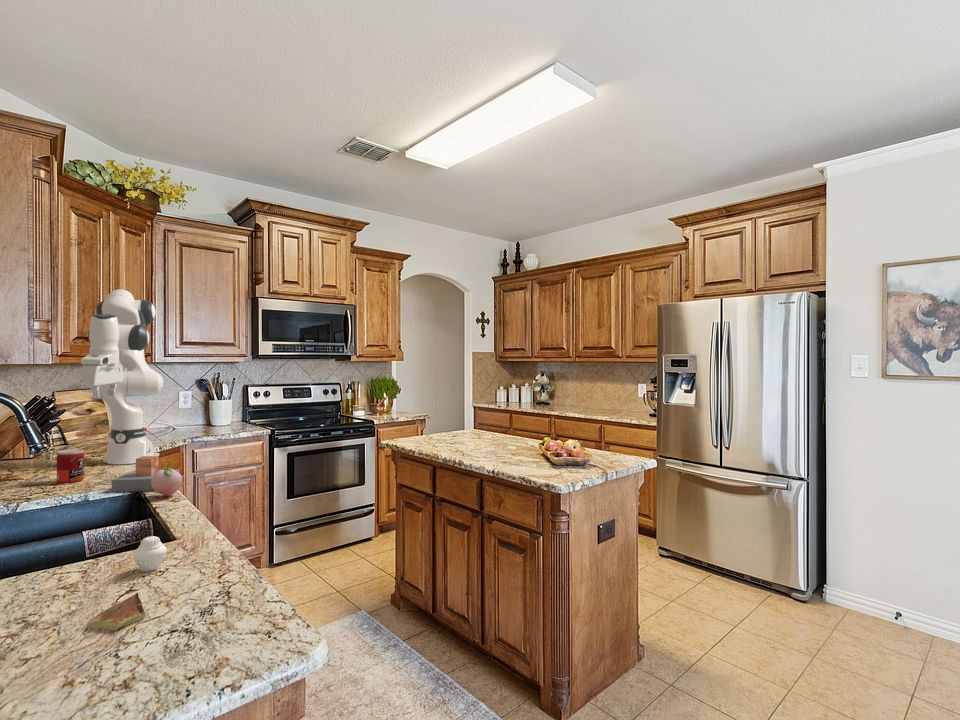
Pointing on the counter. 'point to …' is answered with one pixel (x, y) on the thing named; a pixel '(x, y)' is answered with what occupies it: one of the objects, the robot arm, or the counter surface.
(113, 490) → the base slab
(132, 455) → the robot arm
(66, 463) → the canned food
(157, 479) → the decorative fruit
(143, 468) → the terracotta block
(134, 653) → the counter surface
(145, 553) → the muffin
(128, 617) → the shard
